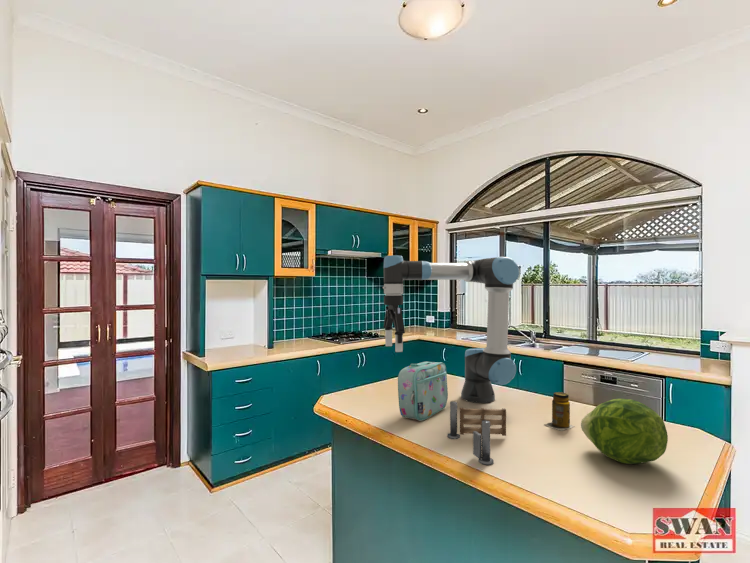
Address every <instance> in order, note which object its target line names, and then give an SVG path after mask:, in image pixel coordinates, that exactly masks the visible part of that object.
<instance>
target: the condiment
mask: <svg viewBox="0 0 750 563" xmlns="http://www.w3.org/2000/svg"><path fill="white" fill-rule="evenodd" d="M552 398H553V399H552V402H551V422H548V423H544V424H543V425H544V426H546V427H548V428H552V429H554V430H558V431H561V432H563V431H565V430H569V429H572V428H574V427H575V425H572V424H571V422H570V421H571V409H570V408H571V402H570V396H569V394H568V393H566V392H562V391H561V392H560V391H558V392H557V391H556V392H553V397H552Z"/></svg>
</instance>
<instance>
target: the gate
mask: <svg viewBox="0 0 750 563" xmlns="http://www.w3.org/2000/svg"><path fill="white" fill-rule="evenodd" d="M465 416H480V418H478V417H477V418H476V417H475V418H474V417H473V418H470V417H468V418H467V417H465ZM485 416H497V417H498V416H501V418H486V417H485ZM483 420H487V421H490V426H501V427H490V435H502V436H504V437H506V436H507V409H506V408H484V407H480V408H464V407H459V435H460V436H464V435H465V434H468V435H469V434H470V435H471V434H472V435H473V431H477V432H478V433H480V434H481V435H482V421H483ZM465 425H466V426H465ZM467 425H471V426H467ZM472 425H473V426H474V427H473V426H472Z"/></svg>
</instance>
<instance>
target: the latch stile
mask: <svg viewBox="0 0 750 563" xmlns="http://www.w3.org/2000/svg"><path fill="white" fill-rule="evenodd" d="M490 428H491V425H490V421H487V420H483V421H482V435H481V434H480V433H478V432H477V431H473V434H472V454H473V456H475V457H476V458H477V459H478V460H477V461H478V463H479V464H481V465H484V466H492V465H494V463H495V462H494V459H493V458H492V457H491V434H490Z"/></svg>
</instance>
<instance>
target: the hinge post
mask: <svg viewBox="0 0 750 563" xmlns="http://www.w3.org/2000/svg"><path fill="white" fill-rule="evenodd" d="M449 408H450V409H449V422H450V423H449V432H448V433H447V434H446V435H447V436H446V437H447V439H450V440H460V439H461V435H460V433H458V402H457V401H456V400H455V401H453V400H452V401H450V402H449Z"/></svg>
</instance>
